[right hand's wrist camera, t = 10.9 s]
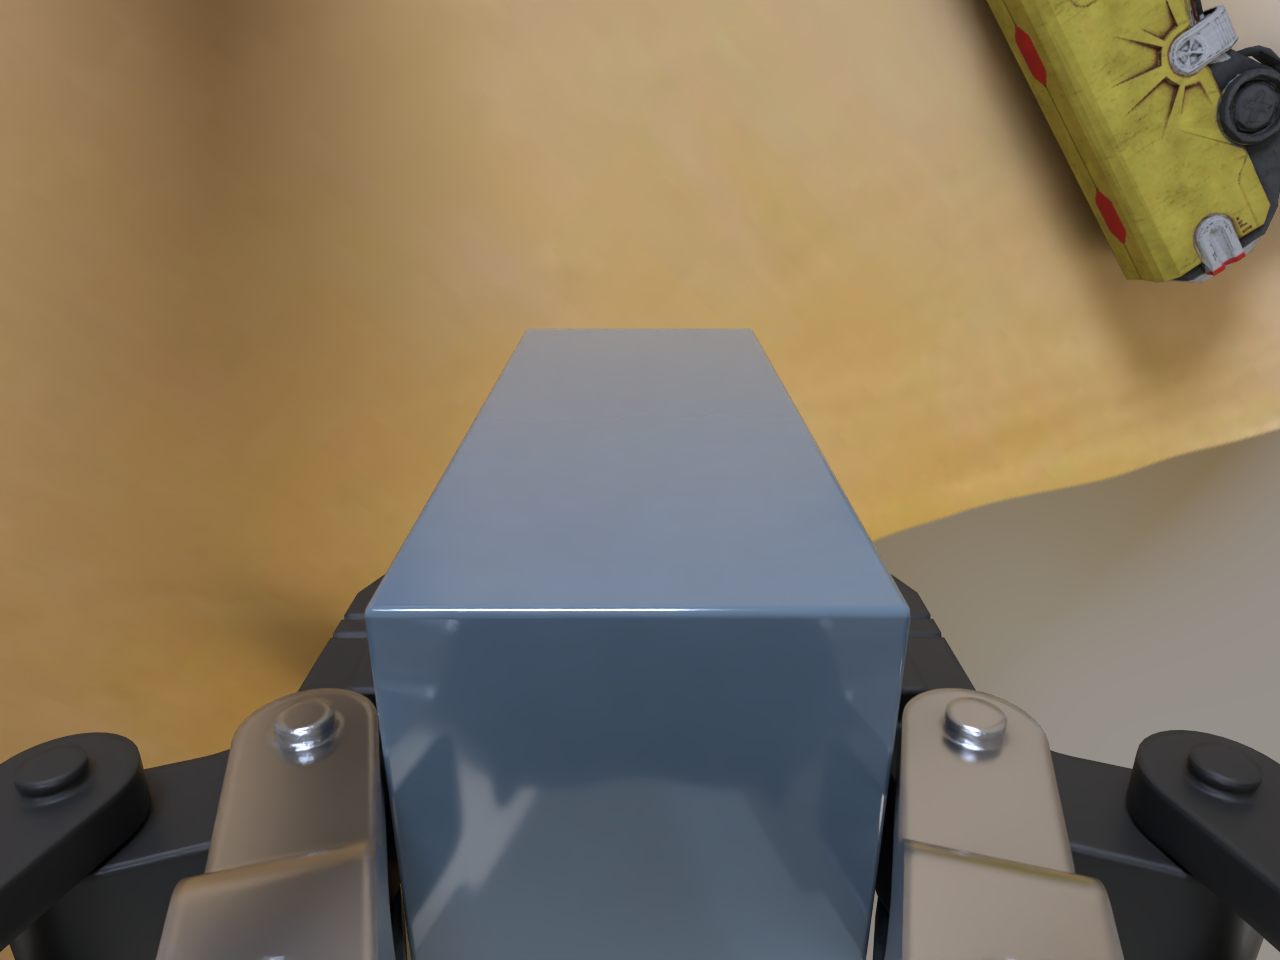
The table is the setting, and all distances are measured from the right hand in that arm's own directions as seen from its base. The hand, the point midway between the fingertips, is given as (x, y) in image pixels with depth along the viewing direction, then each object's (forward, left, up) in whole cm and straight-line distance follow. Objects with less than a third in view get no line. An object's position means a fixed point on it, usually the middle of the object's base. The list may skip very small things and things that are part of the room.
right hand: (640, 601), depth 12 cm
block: (0, 0, -6) cm, 6 cm away
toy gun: (-19, +20, -35) cm, 45 cm away
